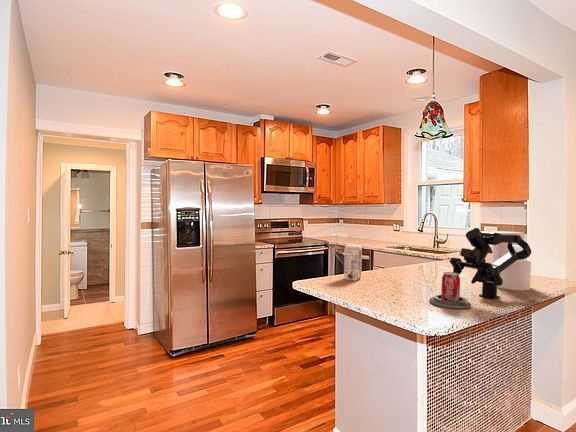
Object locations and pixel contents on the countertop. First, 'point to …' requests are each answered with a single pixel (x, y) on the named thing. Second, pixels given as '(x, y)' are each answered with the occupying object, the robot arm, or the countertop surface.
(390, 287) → the countertop surface
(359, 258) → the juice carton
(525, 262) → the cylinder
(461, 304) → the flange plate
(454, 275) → the soda can
